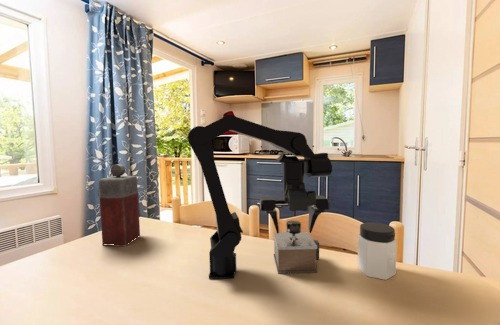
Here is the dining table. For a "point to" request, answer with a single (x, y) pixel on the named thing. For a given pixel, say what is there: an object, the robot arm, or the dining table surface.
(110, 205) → the red canister
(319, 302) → the dining table surface
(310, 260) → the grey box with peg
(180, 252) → the dining table surface
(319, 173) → the robot arm
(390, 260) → the jar
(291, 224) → the plunger
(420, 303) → the dining table surface
